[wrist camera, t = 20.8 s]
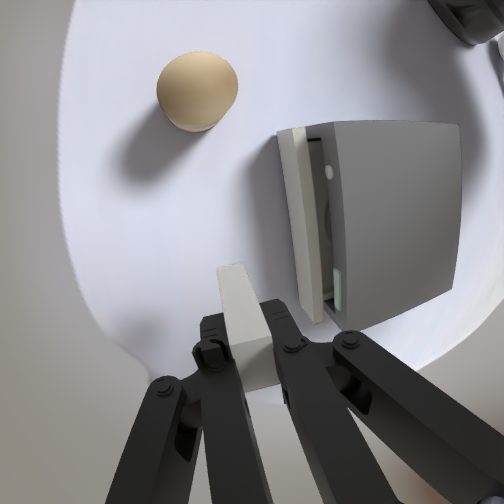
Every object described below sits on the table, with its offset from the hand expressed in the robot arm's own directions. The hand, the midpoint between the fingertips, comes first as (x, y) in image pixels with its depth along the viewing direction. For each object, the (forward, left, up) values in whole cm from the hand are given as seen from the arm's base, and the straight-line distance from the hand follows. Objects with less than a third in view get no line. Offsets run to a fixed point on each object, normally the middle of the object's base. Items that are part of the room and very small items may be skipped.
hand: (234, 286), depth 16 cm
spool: (-12, 0, -9) cm, 15 cm away
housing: (0, +15, -9) cm, 18 cm away
